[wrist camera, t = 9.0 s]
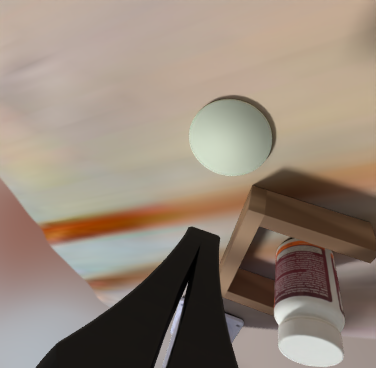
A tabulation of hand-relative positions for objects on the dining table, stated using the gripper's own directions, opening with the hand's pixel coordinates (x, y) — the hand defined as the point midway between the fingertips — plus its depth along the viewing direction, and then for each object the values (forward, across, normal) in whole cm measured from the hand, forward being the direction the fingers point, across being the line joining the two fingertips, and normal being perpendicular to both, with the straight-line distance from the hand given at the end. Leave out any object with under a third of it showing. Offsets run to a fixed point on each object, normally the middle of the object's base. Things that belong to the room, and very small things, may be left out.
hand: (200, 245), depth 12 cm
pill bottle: (+11, -9, +9) cm, 16 cm away
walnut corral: (+10, -8, +9) cm, 16 cm away
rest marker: (+10, 0, 0) cm, 10 cm away
